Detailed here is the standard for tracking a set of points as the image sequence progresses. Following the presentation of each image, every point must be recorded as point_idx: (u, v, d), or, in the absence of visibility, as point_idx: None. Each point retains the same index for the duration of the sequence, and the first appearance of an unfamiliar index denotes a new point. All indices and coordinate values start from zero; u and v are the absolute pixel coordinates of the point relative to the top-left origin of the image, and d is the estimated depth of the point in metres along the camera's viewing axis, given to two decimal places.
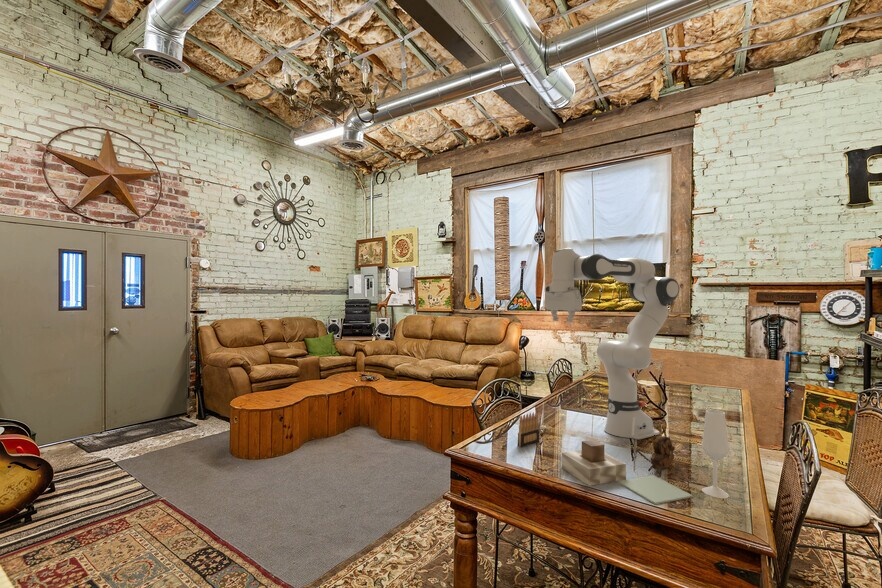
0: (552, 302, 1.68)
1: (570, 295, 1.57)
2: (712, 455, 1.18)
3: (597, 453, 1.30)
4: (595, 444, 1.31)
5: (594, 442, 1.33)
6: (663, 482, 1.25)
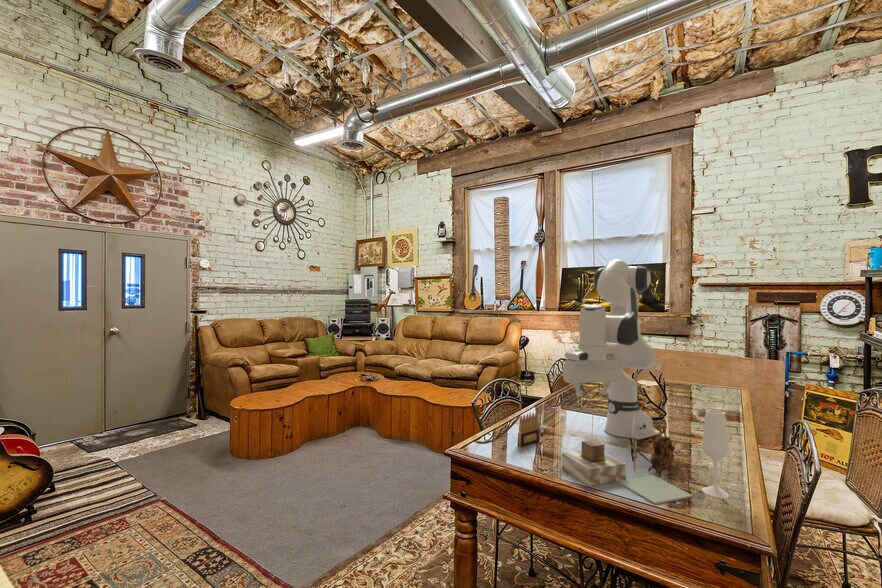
0: (584, 373, 1.30)
1: (615, 363, 1.34)
2: (712, 455, 1.18)
3: (597, 453, 1.30)
4: (595, 444, 1.31)
5: (594, 442, 1.33)
6: (663, 482, 1.25)
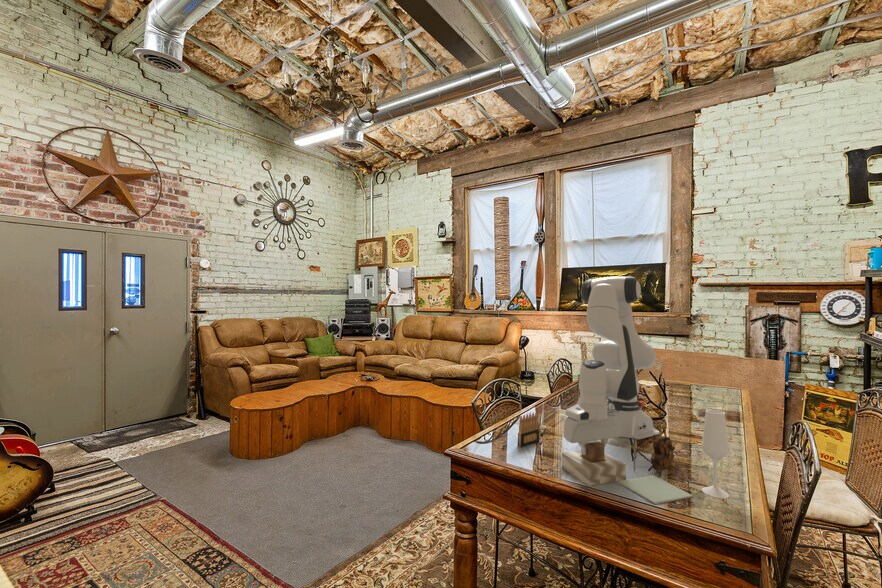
0: (585, 432, 1.29)
1: (615, 419, 1.33)
2: (712, 455, 1.18)
3: (597, 453, 1.30)
4: (595, 444, 1.31)
5: (594, 442, 1.33)
6: (663, 482, 1.25)
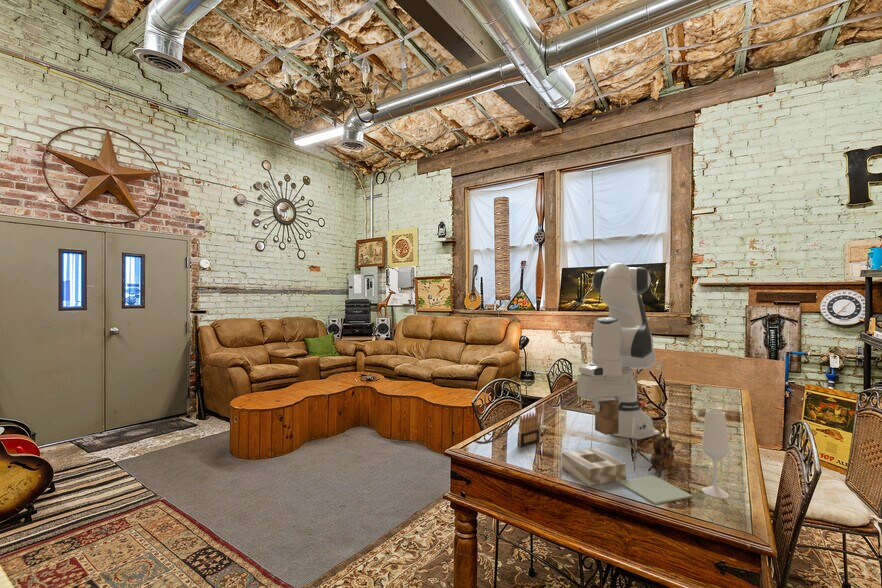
0: (599, 388, 1.27)
1: (630, 377, 1.31)
2: (712, 455, 1.18)
3: (612, 410, 1.28)
4: (609, 401, 1.29)
5: (608, 400, 1.31)
6: (663, 482, 1.25)
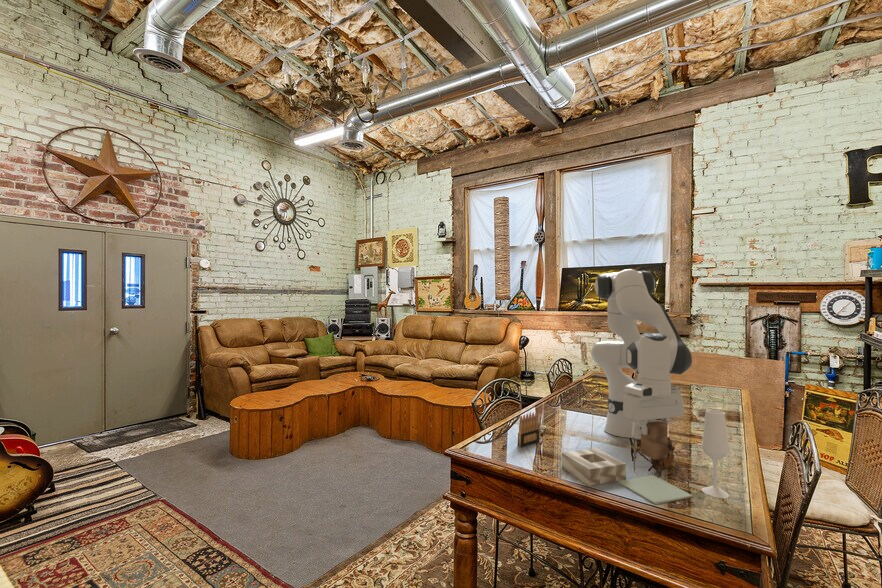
0: (647, 410, 1.19)
1: (678, 397, 1.22)
2: (712, 455, 1.18)
3: (660, 433, 1.19)
4: (657, 423, 1.20)
5: (655, 421, 1.22)
6: (663, 482, 1.25)
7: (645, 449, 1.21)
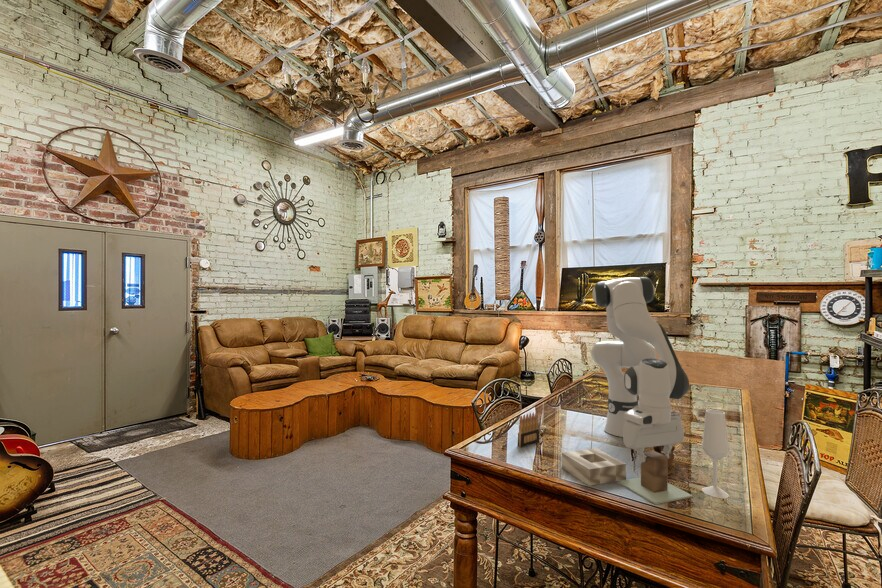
0: (647, 437, 1.19)
1: (678, 423, 1.22)
2: (712, 455, 1.18)
3: (660, 466, 1.19)
4: (657, 456, 1.20)
5: (655, 453, 1.22)
6: None
7: (645, 481, 1.21)
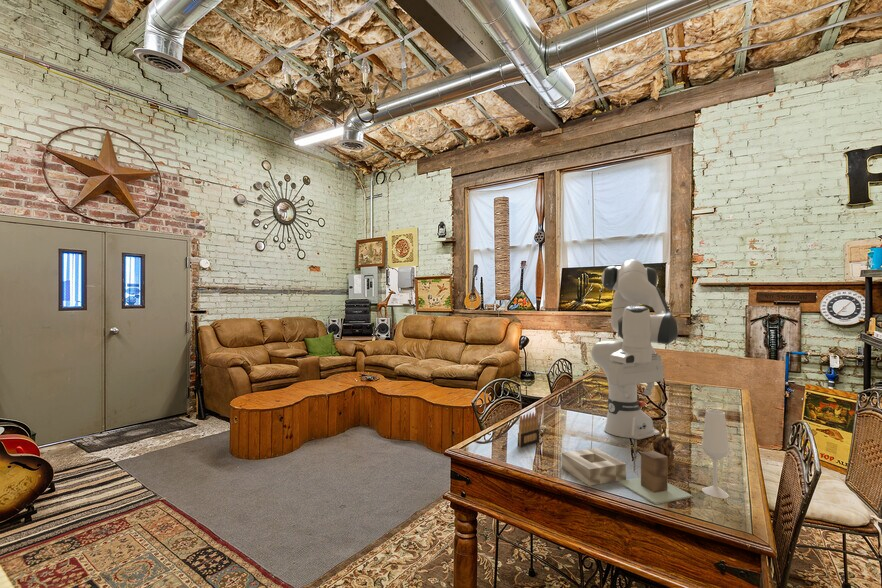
0: (630, 375, 1.31)
1: (658, 363, 1.34)
2: (712, 455, 1.18)
3: (660, 466, 1.19)
4: (657, 456, 1.20)
5: (655, 453, 1.22)
6: None
7: (645, 481, 1.21)
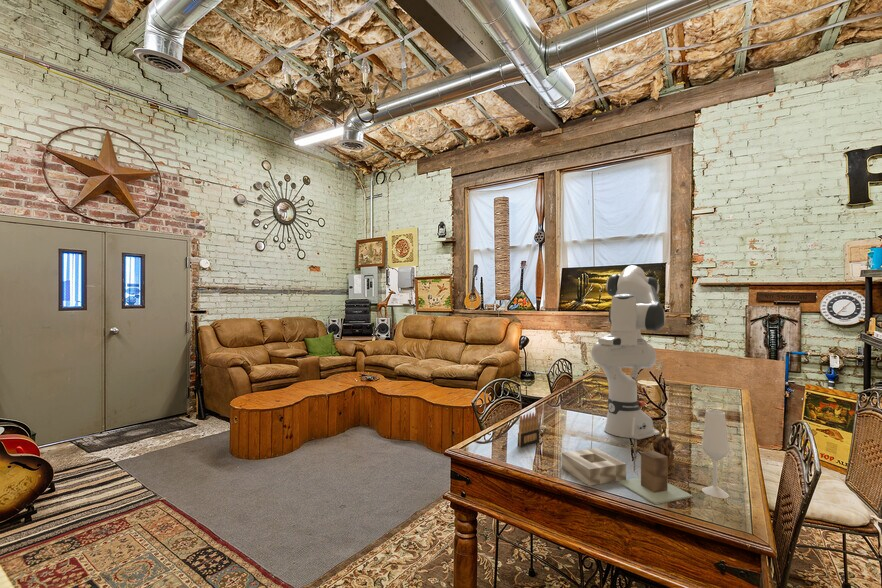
0: (617, 357, 1.41)
1: (644, 347, 1.45)
2: (712, 455, 1.18)
3: (660, 466, 1.19)
4: (657, 456, 1.20)
5: (655, 453, 1.22)
6: None
7: (645, 481, 1.21)
